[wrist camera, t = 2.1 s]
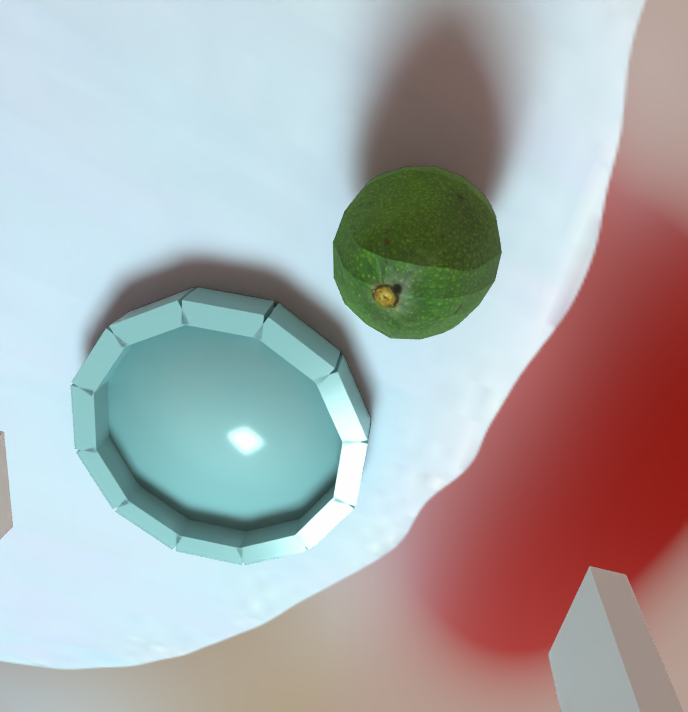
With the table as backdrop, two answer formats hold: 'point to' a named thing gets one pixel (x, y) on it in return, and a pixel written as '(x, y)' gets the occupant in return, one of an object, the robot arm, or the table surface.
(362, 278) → the avocado
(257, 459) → the dish
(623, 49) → the table surface
